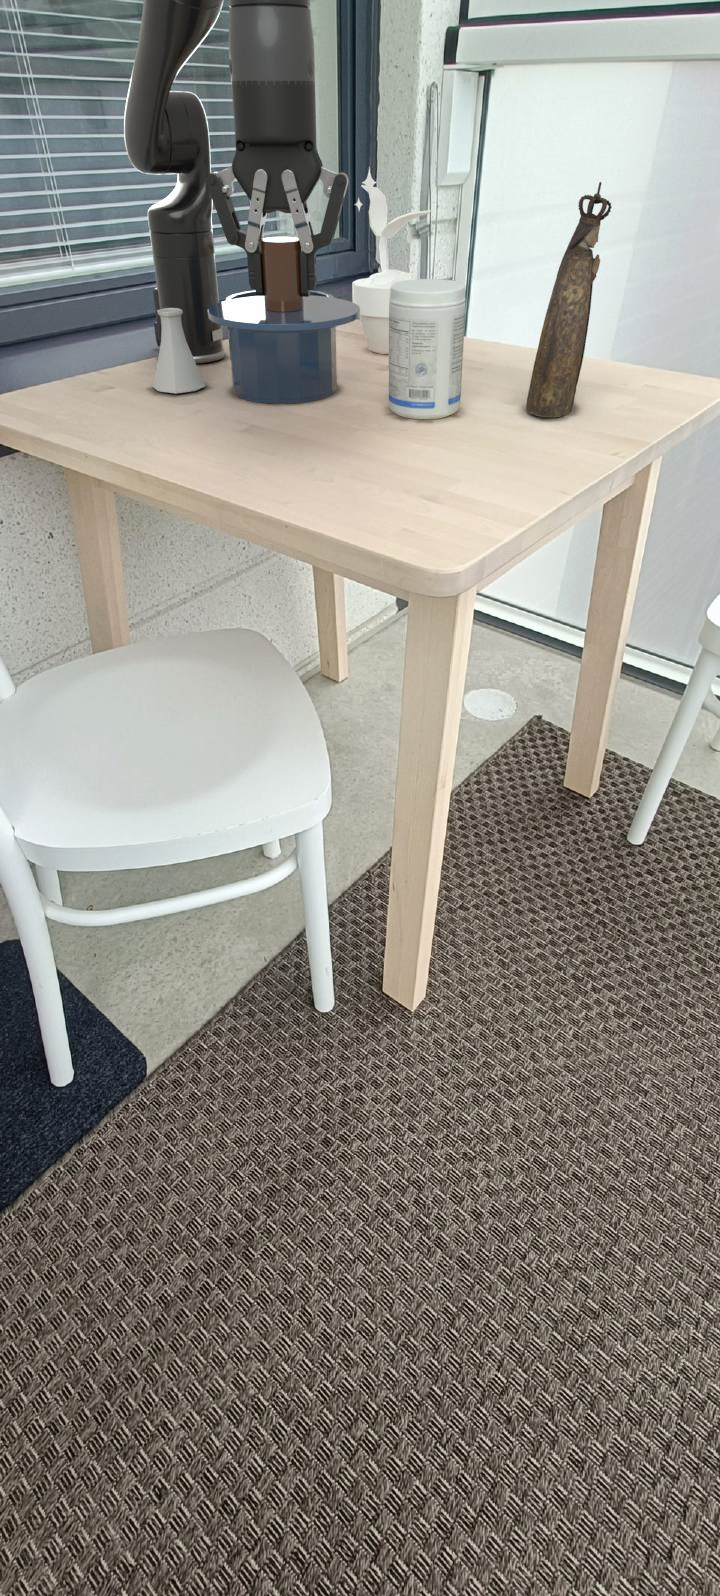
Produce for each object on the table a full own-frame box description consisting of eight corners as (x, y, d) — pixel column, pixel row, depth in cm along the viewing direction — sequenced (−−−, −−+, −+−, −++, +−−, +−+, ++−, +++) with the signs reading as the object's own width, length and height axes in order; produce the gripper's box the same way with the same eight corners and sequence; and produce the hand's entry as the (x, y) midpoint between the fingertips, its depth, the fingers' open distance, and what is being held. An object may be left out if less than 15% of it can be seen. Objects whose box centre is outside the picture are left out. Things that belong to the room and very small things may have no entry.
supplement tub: (433, 398, 121) (439, 276, 112) (474, 414, 115) (483, 286, 106) (373, 407, 117) (374, 282, 108) (412, 425, 111) (417, 294, 102)
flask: (143, 388, 125) (132, 310, 119) (183, 379, 129) (174, 303, 123) (174, 398, 121) (164, 317, 115) (215, 388, 126) (207, 309, 119)
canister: (212, 393, 123) (202, 301, 116) (277, 372, 133) (272, 285, 125) (293, 409, 117) (289, 313, 110) (355, 386, 126) (355, 295, 119)
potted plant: (338, 352, 143) (335, 164, 127) (378, 339, 150) (379, 160, 135) (403, 363, 137) (408, 167, 122) (441, 349, 145) (450, 163, 129)
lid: (177, 325, 89) (167, 242, 84) (274, 301, 99) (269, 226, 94) (297, 345, 82) (294, 255, 77) (389, 317, 92) (390, 237, 87)
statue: (589, 417, 114) (626, 184, 98) (534, 421, 113) (562, 185, 97) (564, 400, 120) (595, 178, 105) (512, 402, 119) (535, 179, 104)
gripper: (355, 77, 80) (356, 290, 91) (204, 77, 81) (222, 287, 92) (348, 76, 75) (349, 303, 85) (184, 76, 76) (206, 301, 86)
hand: (283, 294), depth 89 cm, fingers closed on lid, 4 cm apart
